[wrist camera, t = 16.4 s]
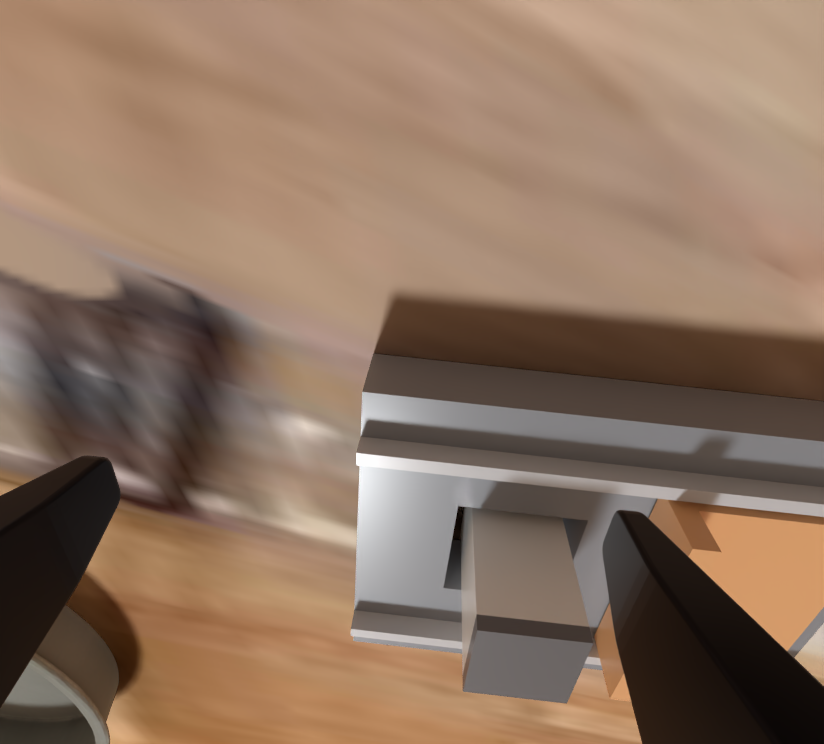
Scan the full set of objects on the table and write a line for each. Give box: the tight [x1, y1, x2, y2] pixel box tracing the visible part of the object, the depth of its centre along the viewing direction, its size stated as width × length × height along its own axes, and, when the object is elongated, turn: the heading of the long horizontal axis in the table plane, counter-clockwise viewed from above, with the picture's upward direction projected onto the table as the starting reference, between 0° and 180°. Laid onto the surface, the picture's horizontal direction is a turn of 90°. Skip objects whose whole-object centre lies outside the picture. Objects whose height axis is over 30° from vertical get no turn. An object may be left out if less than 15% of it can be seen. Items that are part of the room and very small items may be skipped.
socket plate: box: [351, 354, 824, 670], centre depth 23 cm, size 22×16×4 cm
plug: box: [461, 507, 594, 703], centre depth 21 cm, size 4×4×8 cm
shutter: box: [594, 499, 824, 701], centre depth 21 cm, size 8×10×3 cm
